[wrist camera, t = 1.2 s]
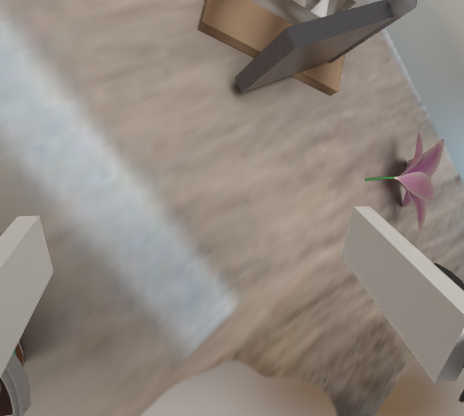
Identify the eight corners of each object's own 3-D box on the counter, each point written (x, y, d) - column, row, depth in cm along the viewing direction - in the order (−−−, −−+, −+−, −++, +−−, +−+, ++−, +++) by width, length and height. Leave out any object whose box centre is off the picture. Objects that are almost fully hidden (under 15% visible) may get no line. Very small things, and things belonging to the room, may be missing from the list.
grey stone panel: (320, 49, 41) (387, -2, 32) (325, 63, 41) (394, 17, 32) (234, 77, 36) (286, 27, 27) (241, 93, 36) (294, 48, 27)
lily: (375, 241, 47) (455, 239, 42) (352, 191, 40) (446, 180, 34) (380, 177, 53) (450, 168, 48) (360, 124, 46) (441, 105, 40)
